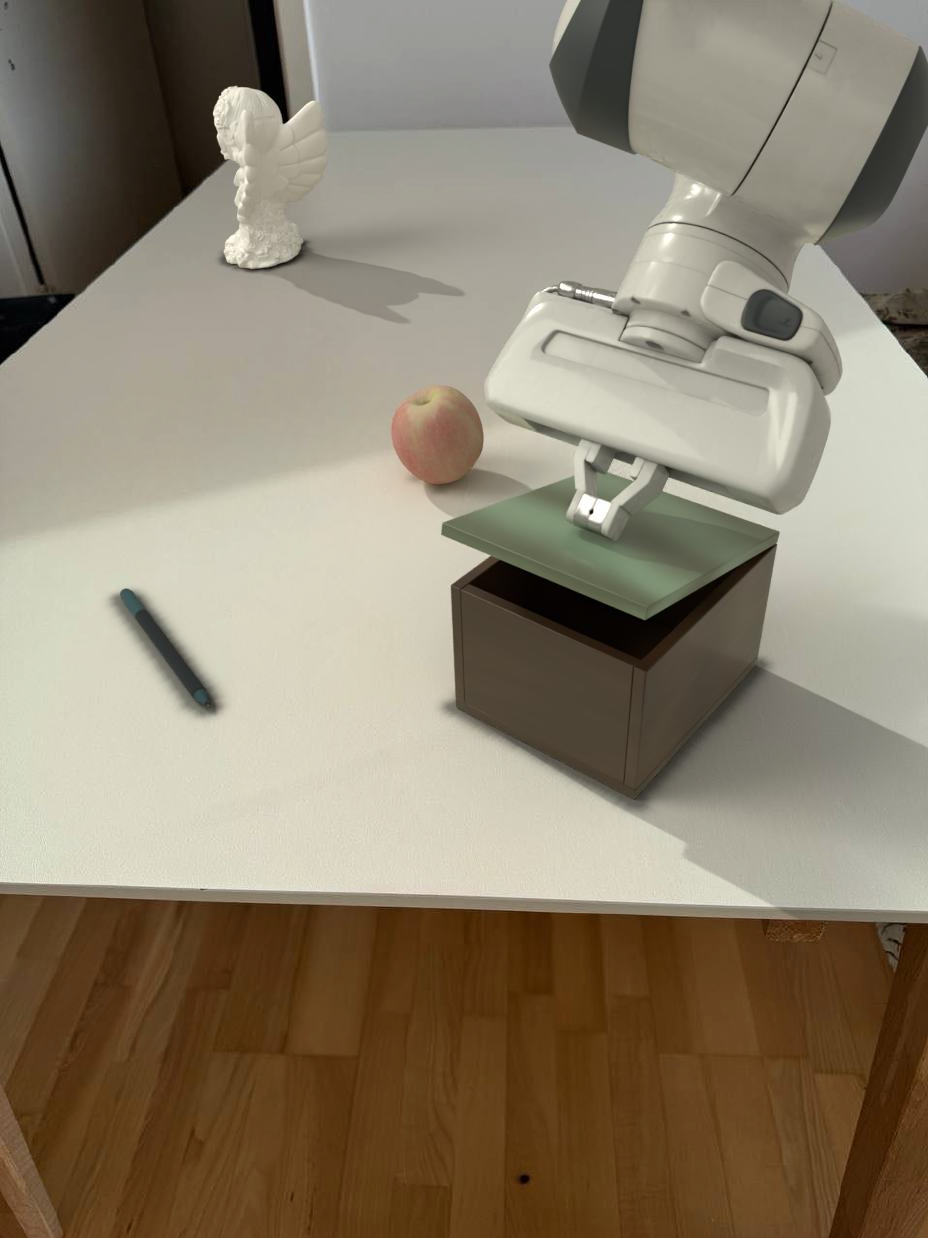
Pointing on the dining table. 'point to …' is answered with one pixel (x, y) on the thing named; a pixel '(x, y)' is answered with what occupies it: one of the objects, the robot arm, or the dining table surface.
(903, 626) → the dining table surface
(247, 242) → the cherub figurine
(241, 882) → the dining table surface
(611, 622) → the coldframe
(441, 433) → the apple
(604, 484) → the lid
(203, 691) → the pen
